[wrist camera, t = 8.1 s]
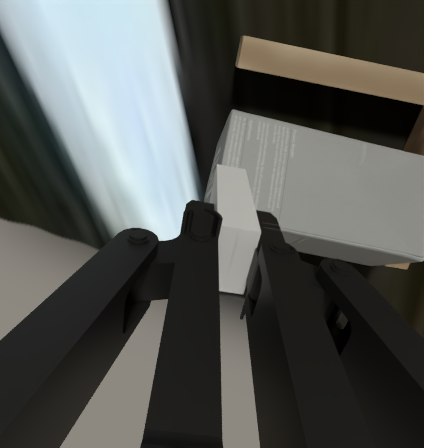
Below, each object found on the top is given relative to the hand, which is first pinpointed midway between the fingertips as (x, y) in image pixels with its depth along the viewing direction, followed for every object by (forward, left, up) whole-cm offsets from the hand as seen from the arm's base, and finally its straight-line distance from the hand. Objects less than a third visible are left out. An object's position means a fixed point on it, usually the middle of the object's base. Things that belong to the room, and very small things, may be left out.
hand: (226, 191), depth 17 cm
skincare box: (+2, -1, -8) cm, 8 cm away
